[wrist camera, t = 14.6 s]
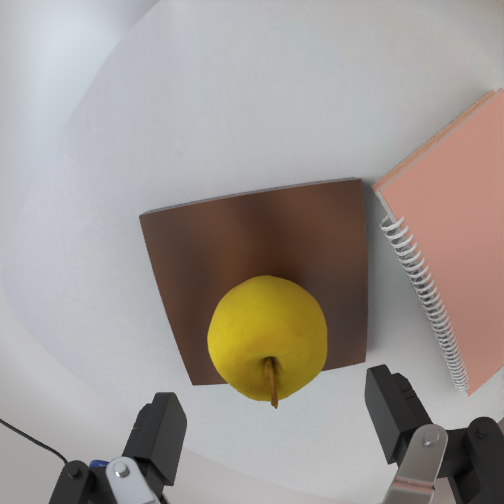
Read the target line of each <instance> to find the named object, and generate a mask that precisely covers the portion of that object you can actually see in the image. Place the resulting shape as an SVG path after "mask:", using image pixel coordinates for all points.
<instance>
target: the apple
mask: <svg viewBox="0 0 504 504" xmlns="http://www.w3.org/2000/svg"><path fill="white" fill-rule="evenodd" d="M207 339H208V350H209V354H210V357H211V359H212V361H213V364H214V366H215V368H216V369H217V371H218V372H219V374H220V375H221V376H222V377H223V378H224V379H225V381H226V382H228V383H229V384H230V385H231V386H232V387H234V388H235V389H236V390H237V391H238V392H240V393H242V394H243V395H245V396H246V397H248V398H251V399H254V400H257V401H270V402H271V405H272V406H274V407H275V408H276V409H277V405H278V400H281V399H284V398H287V397H288V396H290V395H291V394H293V393H294V392H296V391H298V390H299V389H301V388H302V387H304V386H305V385H306V384H308V383H309V382H310V381H312V380H313V379H314V378H315V377H316V376H317V375H318V374H319V373H320V371H321V370H322V368H323V366H324V364H325V361H326V357H327V326H326V321H325V318H324V315H323V312H322V310H321V308H320V306H319V304H318V303H317V301H316V300H315V298H314V297H313V296H312V295H310V294H309V293H308V292H307V291H306V290H304V289H303V288H302V287H300V286H299V285H297V284H295V283H293V282H292V281H289V280H286V279H282V278H278V277H273V276H270V275H265V276H258V277H253V278H251V279H249V280H246V281H245V282H243V283H241V284H239V285H237V286H236V287H234V288H233V289H231V290H230V291H229V292H228V293H227V294H226V295H225V296H224V297H223V298H222V299H221V301H220V302H219V304H218V306H217V307H216V310H215V312H214V314H213V317H212V321H211V324H210V327H209V331H208V336H207Z"/></svg>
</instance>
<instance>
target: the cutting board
mask: <svg viewBox="0 0 504 504" xmlns="http://www.w3.org/2000/svg"><path fill="white" fill-rule="evenodd" d="M139 219H140V223H141V227H142V231H143V235H144V239H145V243H146V247H147V250H148V254H149V258H150V261H151V265H152V269H153V272H154V276H155V279H156V282H157V286H158V289H159V292H160V295H161V299H162V302H163V305H164V308H165V311H166V314H167V317H168V320H169V323H170V326H171V329H172V332H173V335H174V338H175V340H176V343H177V346H178V349H179V351H180V354H181V357H182V359H183V362H184V365H185V367H186V370H187V372H188V375H189V377H190V380H191V382H192V385H193V386H194V385H214V384H228V382H226V381H225V379H224V378H223V377H222V376H221V375H220V374H219V372H218V371H217V369H216V368H215V366H214V364H213V361H212V359H211V357H210V354H209V350H208V339H207V336H208V331H209V327H210V324H211V321H212V317H213V314H214V312H215V310H216V307H217V306H218V304H219V302H220V301H221V299H222V298H223V297H224V296H225V295H226V294H227V293H228V292H229V291H230V290H231V289H233V288H234V287H236V286H237V285H239V284H241V283H243V282H245V281H246V280H249V279H251V278H253V277H258V276H265V275H270V276H273V277H278V278H282V279H286V280H289V281H292V282H293V283H295V284H297V285H299V286H300V287H302V288H303V289H304V290H306V291H307V292H308V293H309V294H310V295H312V296H313V297H314V298H315V300H316V301H317V303H318V304H319V306H320V308H321V310H322V312H323V315H324V318H325V321H326V326H327V357H326V361H325V364H324V366H323V368H322V370H321V371H326V370H331V369H336V368H341V367H346V366H350V365H355V364H359V363H363V362H365V358H366V342H367V316H368V265H367V239H366V222H365V209H364V197H363V187H362V180H361V179H359V178H354V177H352V178H343V179H335V180H326V181H318V182H311V183H303V184H296V185H289V186H282V187H275V188H269V189H262V190H256V191H250V192H244V193H238V194H232V195H227V196H221V197H216V198H210V199H205V200H200V201H195V202H190V203H185V204H180V205H175V206H170V207H165V208H161V209H156V210H151V211H147V212H145V213H143V214H141V215H140V216H139Z"/></svg>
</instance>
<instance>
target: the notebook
mask: <svg viewBox="0 0 504 504" xmlns="http://www.w3.org/2000/svg"><path fill="white" fill-rule="evenodd" d="M370 187H371V188H372V190H373V192H374V193H375V195H376V196H377V198H378V200H379V201H380V203H381V205H382V206H383V208H384V210H385V211H386V213H387V216H386V217H384V218H383V220H382V221H381V222H380V228H381V229H382V230H384V231H385V236H386V237H387V238H388V239H390V245H391V246H392V247H393V248H394V252H395V253H396V254H397V255H398V259H399V260H400V262H401V263H402V267H403V268H404V269H405V270H406V274H407V275H408V276H409V279H410V282H411V283H412V284H413V288H414V289H415V290H416V294H417V295H418V296H419V300H420V301H421V303H422V306H423V308H424V311H425V312H426V314H427V317H428V319H429V322H430V323H431V325H432V328H433V330H434V333H435V334H436V338H437V339H438V342H439V345H440V347H441V350H442V352H443V355H444V358H445V359H446V363H447V366H448V368H449V370H450V373H451V376H452V379H453V382H454V385H455V388H456V390H458V391H464V390H465V391H466V392H467V393H468V396H470V395H471V394H472V393H473V392H475V391H476V390H477V389H478V388H479V387H481V386H482V385H483V384H484V383H485V382H486V381H487V380H488V379H490V378H491V377H492V376H493V375H494V374H495V373H496V372H497V371H498V370H499V369H500V368H501V367H502V366H503V365H504V90H503V88H500V89H499V90H498V91H497V92H494V90H493V89H491V90H490V91H489V92H488V93H487V94H485V95H484V96H483V97H482V98H481V99H479V100H478V101H477V102H476V103H474V104H473V105H472V106H471V107H470V108H468V109H467V110H466V111H465V112H463V113H462V114H461V115H460V116H459V117H457V118H456V119H455V120H454V121H452V122H451V123H450V124H449V125H447V126H446V127H445V128H444V129H442V130H441V131H440V132H439V133H437V134H436V135H435V136H434V137H432V138H431V139H430V140H429V141H427V142H426V143H425V144H424V145H422V146H421V147H420V148H419V149H417V150H416V151H415V152H413V153H412V154H411V155H410V156H408V157H407V158H406V159H405V160H403V161H402V162H401V163H399V164H398V165H397V166H396V167H394V168H393V169H392V170H390V171H389V172H388V173H387V174H385V175H384V176H383V177H381V178H380V179H379V180H378V181H376V182H375V183H374V184H372V185H371V186H370ZM389 218H390V220H391V222H392V223H393V224H391V225H390V226H389V227H383V224H384V222H385V221H387V220H388V219H389ZM394 228H395V229H396V231H397V232H395V233H394V234H393V235H392V236H388V235H387V234H388V232H389V231H390V230H392V229H394ZM399 237H400V238H401V239H400V240H399V241H398V242H397V243H396V245H395V244H392V241H393V239H397V238H399ZM402 242H403V243H402ZM403 246H405V247H404V248H403V249H401V251H400V252H397V251H396V250H397V248H400V247H403ZM405 250H407V251H405ZM404 251H405V252H404ZM407 254H408V255H407ZM404 255H407V256H406V257H405V258H404V259H403V260H402V259H400V258H401V256H404ZM409 257H411V259H408V258H409ZM407 259H408V260H407ZM406 263H409V264H408V266H407V267H405V266H404V264H406ZM413 264H414V265H415V266H414V267H411V266H412V265H413ZM410 267H411V268H410ZM408 271H412V272H411V273H410V274H408ZM416 271H418V273H419V274H416V275H413V274H414V273H415V272H416ZM420 277H421V279H422V281H419V282H416V281H417V280H418V278H420ZM412 278H415V279H414V281H412V280H411V279H412ZM423 283H424V286H425V287H424V288H422V289H419V287H420V286H421V285H422V284H423ZM415 285H417V287H415ZM426 290H427V292H428V293H427V294H426V295H422V293H423V292H424V291H426ZM418 291H419V292H420V293H419V294H418ZM427 297H430V299H429V300H428V301H424V300H425V299H426V298H427ZM421 298H423V299H422V300H421ZM430 303H433V304H432V305H431V306H430V307H427V305H428V304H430ZM423 304H425V306H424V305H423ZM433 309H435V310H434V311H433V312H432V313H429V311H430V310H433ZM426 310H427V311H426ZM435 312H436V313H435ZM429 315H430V316H429ZM435 315H436V316H435ZM432 316H435V317H434V318H433V319H432V318H431V317H432ZM436 318H437V319H436ZM431 321H432V322H431ZM434 321H437V322H436V324H433V323H434ZM438 323H440V324H438ZM433 326H434V327H433ZM436 327H438V328H437V329H436ZM441 327H442V328H443V329H440V328H441ZM435 331H436V332H435ZM437 332H440V333H439V334H438V333H437ZM443 332H444V333H445V334H441V333H443ZM437 336H438V337H437ZM445 336H446V339H443V338H444V337H445ZM439 337H441V339H440V338H439ZM441 341H443V342H442V343H441ZM445 341H448V343H447V344H444V343H445ZM448 345H449V347H448V348H446V346H448ZM443 346H444V347H443ZM450 349H451V351H449V352H447V351H448V350H450ZM444 350H446V351H444ZM446 354H447V355H446ZM449 354H452V355H451V356H448V355H449ZM447 358H448V359H447ZM450 358H452V359H451V360H450ZM448 362H449V363H448ZM451 362H453V363H452V364H451ZM452 366H454V367H453V368H452ZM456 366H457V367H456ZM455 367H456V368H455ZM451 369H452V370H451ZM453 370H454V371H453ZM456 370H458V371H456ZM454 373H455V374H454ZM457 373H459V374H457ZM456 374H457V375H456ZM453 376H454V377H453ZM455 376H456V377H455ZM458 376H460V377H459V378H457V377H458ZM454 379H455V380H454ZM459 379H461V381H458V380H459ZM455 382H456V383H455ZM460 382H462V383H461V384H457V383H460ZM456 385H457V386H456ZM461 385H462V387H458V386H461ZM458 388H460V389H461V388H463V390H460V389H458Z"/></svg>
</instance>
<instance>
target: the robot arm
mask: <svg viewBox="0 0 504 504" xmlns="http://www.w3.org/2000/svg"><path fill="white" fill-rule="evenodd" d="M365 402H366V406H367V409H368V411H369V414H370V417H371V419H372V422H373V424H374V427H375V430H376V432H377V435H378V438H379V441H380V443H381V446H382V449H383V452H384V454H385V457H386V460H387V463H388V465H389V464H392V463H395V462H396V463H397V466H398V470H397V473H396V475H395V477H394V479H393V481H392V483H391V485H390V487H389V489H388V491H387V493H386V495H385V497H384V499H383V501H382V503H381V504H430V503H431V500H432V497H433V495H434V491H435V488H434V484H435V481H436V479H437V478H444V477H447V478H448V481H449V483H450V486H451V489H452V492H453V495H454V498H455V501H456V504H504V435H503V433H502V432H501V430H500V428H499V426H498V425H497V423H496V422H495V421H494V420H493V419H491V418H489V417H479V418H476V419H475V420H473V421H472V422H471V423H470V425H469V427H468V428H462V429H455V430H445V429H444V428H443V427H441V426H439V425H436V424H433V422H432V421H431V419H430V417H429V416H428V414H427V412H426V410H425V409H424V407H423V405H422V403H421V401H420V400H419V398H418V397H417V395H416V393H415V391H414V389H413V388H412V386H411V384H410V383H409V381H408V379H407V378H405V377H404V376H402V375H401V374H400V373H395V374H391V373H390V371H389V369H388V367H387V366H386V365H385V364H383V365H379V366H376V367H372V368H368V369H367V375H366V385H365ZM0 423H2V424H3V425H5V426H6V427H8V428H10V429H12V430H13V431H15V432H17V433H18V434H20V435H22V436H24V437H25V438H27V439H29V440H31V441H32V442H34V443H35V444H37V445H39V446H41V447H43V448H45V449H47V450H49V451H51V452H53V453H54V454H56V455H57V456H58V457H59V458H61V459H62V460H63V461H64V463H65V466H64V467H63V469H62V472H61V474H60V476H59V479H58V481H57V484H56V486H55V489H54V491H53V494H52V496H51V499H50V502H49V504H170V502H169V501H168V499H167V498H166V496H165V494H164V493H163V488H164V485H166V486H173V485H174V481H175V476H176V472H177V467H178V462H179V458H180V454H181V450H182V445H183V441H184V437H185V432H186V428H187V419H186V415H185V413H184V411H183V409H182V407H181V404H180V402H179V400H178V398H177V396H176V394H175V393H174V392H158V393H156V394H155V396H154V399H153V402H152V404H148V403H147V404H146V405H145V406H144V407H143V408H142V409H141V410H140V412H139V414H138V416H137V419H136V422H135V424H134V426H133V429H132V431H131V434H130V436H129V439H128V441H127V444H126V446H125V449H124V452H123V454H122V456H121V457H118V458H115V459H113V460H112V461H111V462H109V464H108V465H107V466H104V467H92V468H89V467H88V466H87V465H86V464H85V463H84V462H82V461H78V460H75V461H71V462H69V463H68V461H67V460H66V459H65V458H64V457H63V456H62V455H61V454H60V453H59V452H57V451H56V450H54V449H53V448H51V447H49V446H47V445H45V444H43V443H41V442H39V441H37V440H35V439H34V438H32V437H30V436H29V435H27V434H25V433H23V432H22V431H20V430H18V429H16V428H14V427H13V426H11V425H9V424H8V423H6V422H4V421H3V420H1V419H0Z"/></svg>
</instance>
